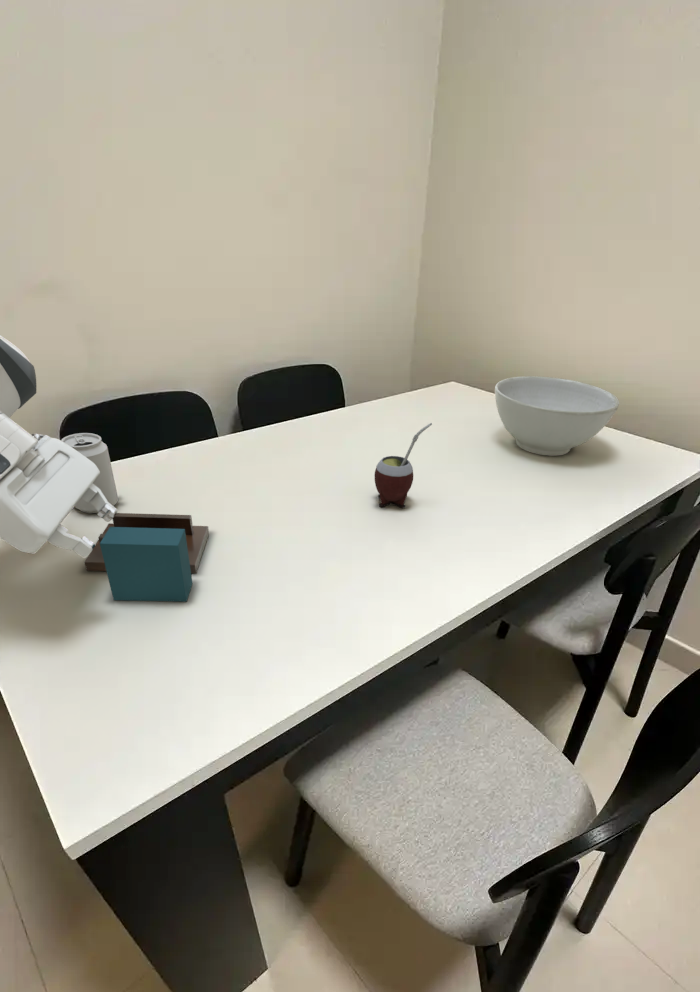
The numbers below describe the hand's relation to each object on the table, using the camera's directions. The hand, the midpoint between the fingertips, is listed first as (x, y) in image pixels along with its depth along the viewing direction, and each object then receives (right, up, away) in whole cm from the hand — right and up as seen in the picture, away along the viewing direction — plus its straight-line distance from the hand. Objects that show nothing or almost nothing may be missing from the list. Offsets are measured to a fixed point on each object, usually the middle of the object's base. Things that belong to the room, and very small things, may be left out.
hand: (102, 533), depth 76 cm
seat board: (+1, 0, +15) cm, 15 cm away
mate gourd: (+41, +11, +33) cm, 53 cm away
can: (-12, +9, +26) cm, 30 cm away
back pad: (+5, -7, +6) cm, 11 cm away
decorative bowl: (+78, +30, +60) cm, 103 cm away
